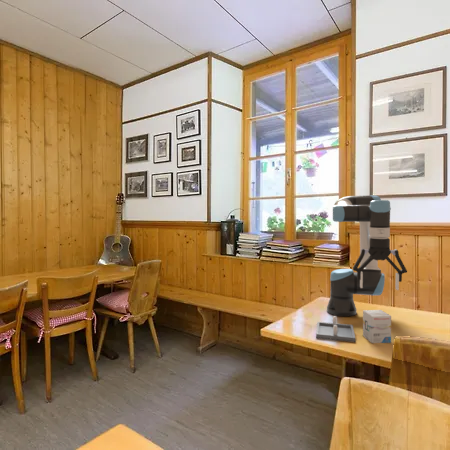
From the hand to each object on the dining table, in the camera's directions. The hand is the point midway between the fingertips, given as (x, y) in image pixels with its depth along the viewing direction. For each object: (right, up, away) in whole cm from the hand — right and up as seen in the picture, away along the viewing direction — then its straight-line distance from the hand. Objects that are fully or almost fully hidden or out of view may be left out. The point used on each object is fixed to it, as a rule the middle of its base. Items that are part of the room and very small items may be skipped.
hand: (378, 288), depth 134 cm
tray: (-14, -23, +12) cm, 29 cm away
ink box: (+1, -23, +5) cm, 24 cm away
